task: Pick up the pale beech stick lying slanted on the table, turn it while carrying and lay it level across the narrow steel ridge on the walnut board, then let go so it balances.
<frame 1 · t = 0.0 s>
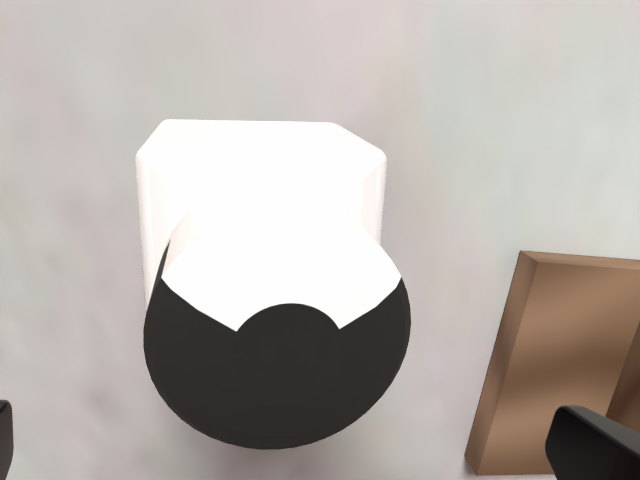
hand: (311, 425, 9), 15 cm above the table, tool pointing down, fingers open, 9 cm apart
balance stand: (638, 364, 29), on the table
medicine bottle: (251, 204, 23), on the table
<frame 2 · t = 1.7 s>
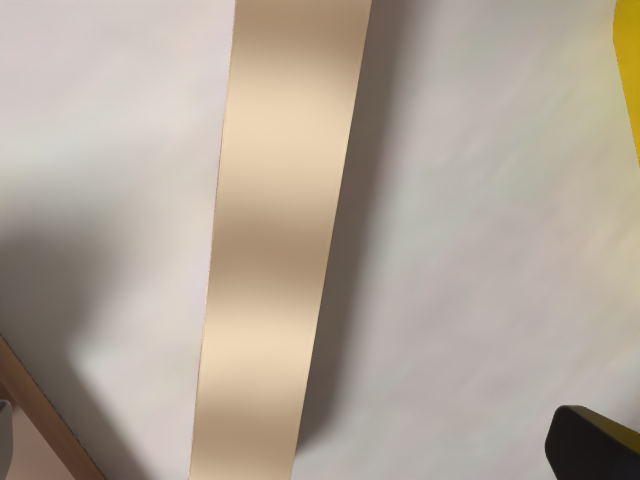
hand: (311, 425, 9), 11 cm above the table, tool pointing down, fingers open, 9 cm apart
beech stick: (263, 217, 19), on the table
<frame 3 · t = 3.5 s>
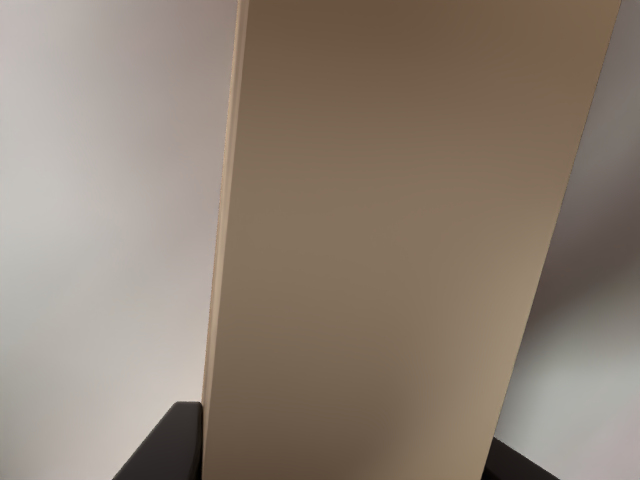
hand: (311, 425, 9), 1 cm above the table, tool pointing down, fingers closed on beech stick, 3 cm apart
beech stick: (298, 380, 10), on the table, touching gripper
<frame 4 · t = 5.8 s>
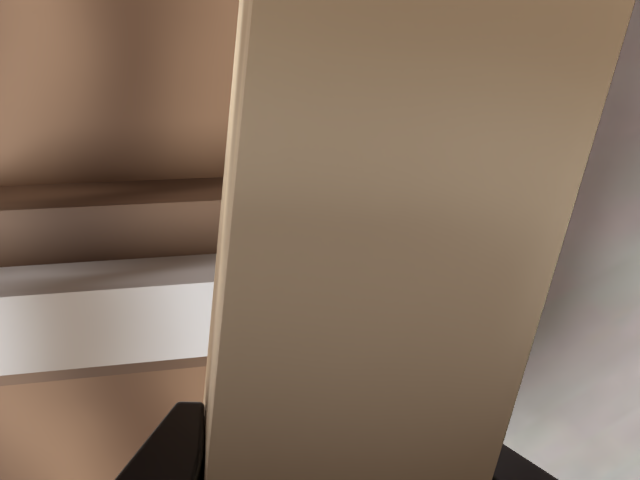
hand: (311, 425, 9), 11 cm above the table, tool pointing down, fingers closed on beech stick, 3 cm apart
beech stick: (301, 382, 10), point 10 cm above the table, touching gripper
balance stand: (137, 242, 19), on the table
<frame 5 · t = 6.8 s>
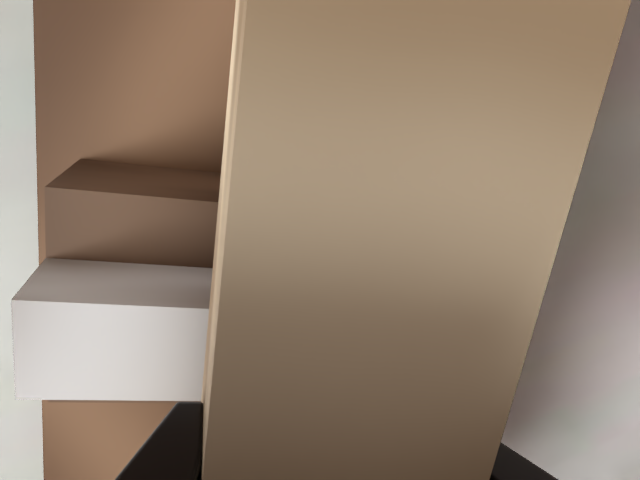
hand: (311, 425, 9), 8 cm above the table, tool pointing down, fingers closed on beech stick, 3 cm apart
beech stick: (299, 382, 10), point 7 cm above the table, touching gripper
balance stand: (263, 246, 16), on the table
when the fingers open (8 cm above the table, at t = 7.8 s): beech stick stays where it is, resting on balance stand.
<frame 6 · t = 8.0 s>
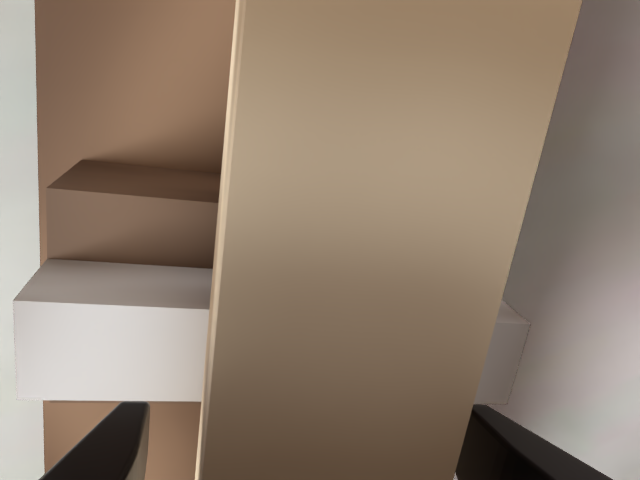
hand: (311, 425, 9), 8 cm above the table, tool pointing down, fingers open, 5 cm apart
beech stick: (295, 360, 10), point 6 cm above the table, touching balance stand
balance stand: (264, 247, 17), on the table
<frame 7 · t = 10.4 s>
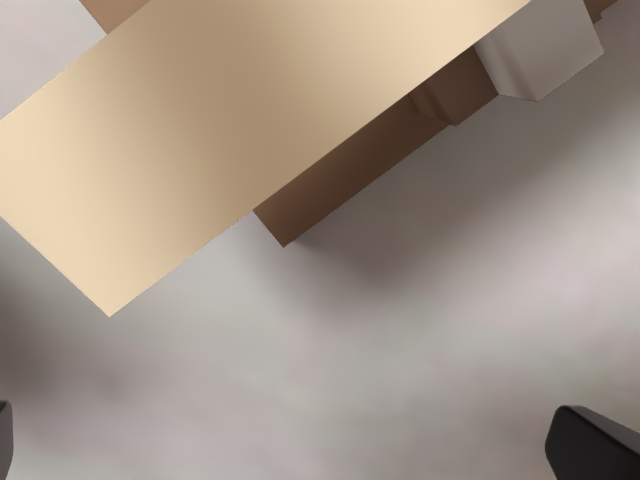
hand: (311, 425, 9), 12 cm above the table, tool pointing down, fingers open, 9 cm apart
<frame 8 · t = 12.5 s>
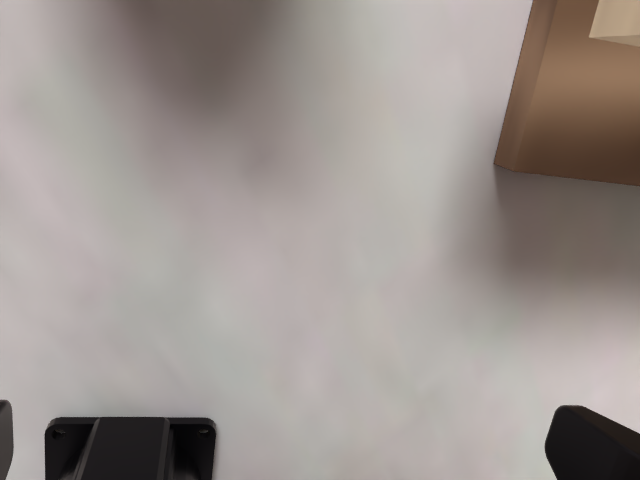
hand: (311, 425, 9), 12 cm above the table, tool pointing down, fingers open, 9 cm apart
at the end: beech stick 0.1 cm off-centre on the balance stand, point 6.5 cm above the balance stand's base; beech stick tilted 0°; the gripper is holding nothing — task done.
